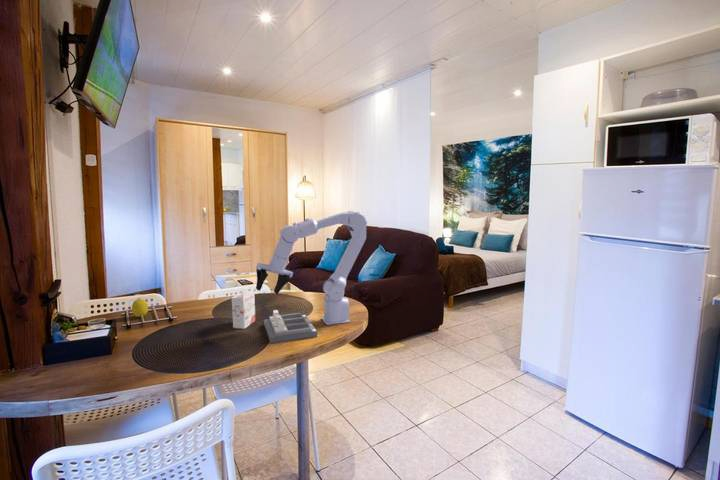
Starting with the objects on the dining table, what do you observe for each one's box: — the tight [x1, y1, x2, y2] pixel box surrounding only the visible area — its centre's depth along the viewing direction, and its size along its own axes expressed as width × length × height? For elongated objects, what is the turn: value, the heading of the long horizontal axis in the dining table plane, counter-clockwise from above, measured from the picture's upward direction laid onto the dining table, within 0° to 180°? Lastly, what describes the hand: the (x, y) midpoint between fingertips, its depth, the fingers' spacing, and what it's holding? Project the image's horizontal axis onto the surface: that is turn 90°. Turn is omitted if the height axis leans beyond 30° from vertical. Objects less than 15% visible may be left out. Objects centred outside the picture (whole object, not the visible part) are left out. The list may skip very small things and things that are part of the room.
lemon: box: [131, 297, 149, 318], centre depth 140 cm, size 6×6×8 cm
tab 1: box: [269, 309, 282, 322], centre depth 131 cm, size 4×4×4 cm
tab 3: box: [274, 320, 288, 334], centre depth 121 cm, size 4×4×4 cm
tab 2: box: [272, 314, 285, 329], centre depth 126 cm, size 4×4×4 cm
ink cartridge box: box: [231, 284, 256, 330], centre depth 133 cm, size 9×5×15 cm, turn 168°
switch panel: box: [263, 312, 318, 344], centre depth 128 cm, size 16×18×3 cm
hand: (266, 291), depth 129 cm, fingers open, 7 cm apart
